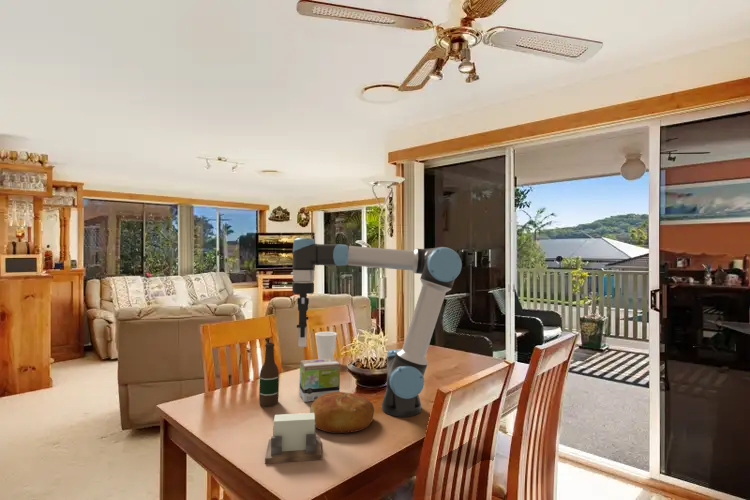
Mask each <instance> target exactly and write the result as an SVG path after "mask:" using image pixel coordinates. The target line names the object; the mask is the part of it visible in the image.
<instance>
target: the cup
mask: <svg viewBox="0 0 750 500" xmlns="http://www.w3.org/2000/svg"><path fill="white" fill-rule="evenodd" d="M314 336H315V343H316V351H317V357H318V358H317V359H330V358H334V356H335V355H334V354H335V349H336V343H337V336H338V333H337V332H335V331H317V332H315V334H314Z"/></svg>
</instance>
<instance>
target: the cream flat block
mask: <svg viewBox="0 0 750 500" xmlns="http://www.w3.org/2000/svg"><path fill="white" fill-rule="evenodd" d="M273 426H274V436H282V451H296V450H306V434H315V415H314V413H310V412H304V413H303V412H302V413H285V414H284V413H283V414H274V419H273Z"/></svg>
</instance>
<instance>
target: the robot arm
mask: <svg viewBox="0 0 750 500" xmlns="http://www.w3.org/2000/svg"><path fill="white" fill-rule="evenodd" d="M315 266H336V267H341V266H355V267H366V268H379V269H389V270H390V269H391V270H392V269H393V270H401V271H411V272H412V273H414V274H420V278H419V279H420V282H421V285H422V286H421V288H420V293H419V295H418V298H417V300H416V304H415V307H414V310H413V314H412V317H411V320H410V323H409V326H408V329H407V331H406V332H407V333H406V336H405V339H404V342H403V345H402V348H393V349H392V348H391V349H389V350H388V351H387V355H386V390H385V393H384V396H383V399H382V403H381V410H382V412H383V413H385V414H387V415H390V416H393V417H394V416H395V417H401V418H403V417H405V418H407V417H412V416H417V415H419V414H420V413H421V412H422V403H421V399H420V396H419V394H421V392H422V391H423V388H424V385H425V378H424V376H425V373H426V370H427V367H428V364H429V363H428V360H427V358H426V356H427V352H428V349H429V346H430V343H431V339H432V337H433V333H434V330H435V328H436V325H437V322H438V318H439V315H440V312H441V309H442V306H443V302H444V300H445V296H446V293H448V292H450V291H451V290H452V289H453V286H454V282H455V280H456V279H457V277H459V275H460V274H461V271H462V266H463V263H462V258H461V257H460V255H459V253H458V252H457V251H456V250H453V249H452V248H449V247H446V246H439V247H433V248H432V247H431V248H415V249H414V250H408V249H407V250H405V249H395V248H394V249H393V248H380V247H366V246H357V245H356V246H355V245H347V244H341V243H335V244H334V243H331V244H330V243H329V244H328V243H325V244H323V243H322V244H321V243H316V242H315V239H314V238H307V237H304V238H302V237H299V238H298V237H297V238H295V239H294V240H293V245H292V272H290V275H291V276H292V281H293V282H292V284H291V285H292V290H291V292H292V294H296V295H299V297H298V298H297V299H296V300H297V303H296V304H297V310H298V324H297V325H296V328H297V329H298V336H297V337H298V338H297V339H298V340H297V341H298V343H297V344H298V345H297V346H298V348H304V347H305V348H307V343H308V342H307V336H308V334H307V329H308V324H307V322H308V320H309V316H308V315H307V311H308V310H309V303H310V298H309V297H307V296H308V295H310V294H314V292H315V283H314V281H315Z"/></svg>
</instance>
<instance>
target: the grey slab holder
mask: <svg viewBox="0 0 750 500" xmlns="http://www.w3.org/2000/svg"><path fill="white" fill-rule="evenodd" d="M272 427H273V428H272V436H271V437H270V438H269V439H268V441H267V446H266V447H267V448H266V452H265V457H264V465H265V464H266V465H267V464H279V463H280V464H282V463H293V462H294V463H295V462H308V461H320V460H321V461H322V447H321V446H322V444H321V435H317V431H316V429H317V427H316V423H315V434H306V450H296V451H282V436H274V425H273V426H272Z"/></svg>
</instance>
